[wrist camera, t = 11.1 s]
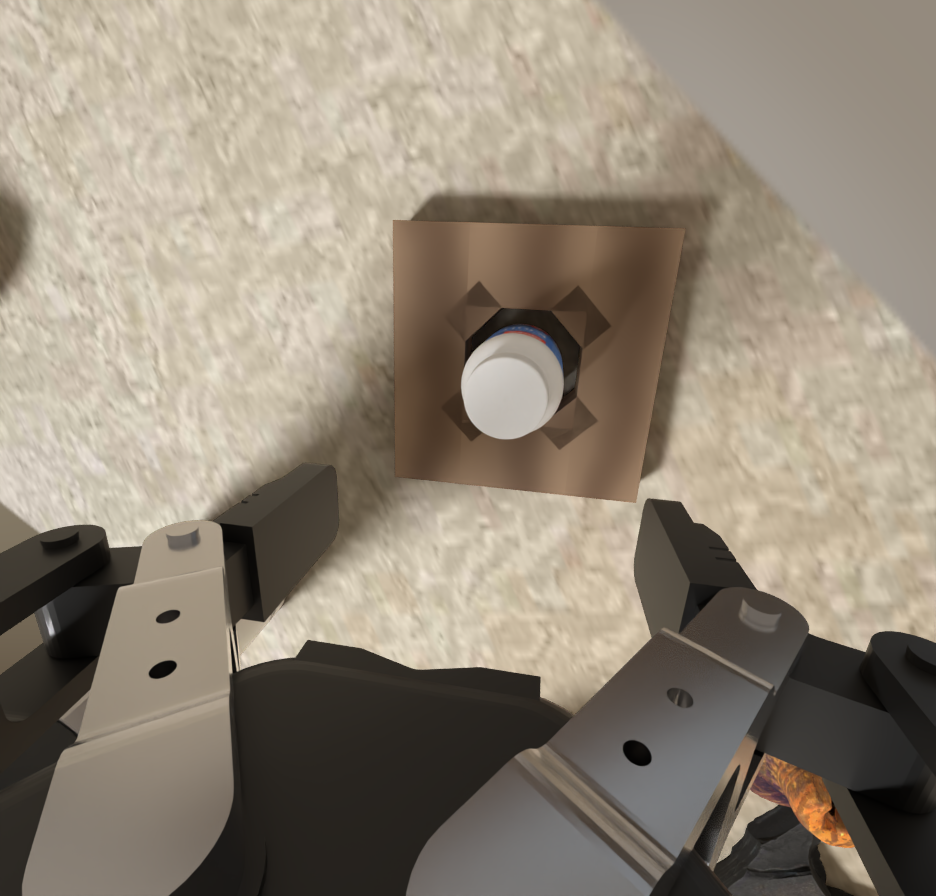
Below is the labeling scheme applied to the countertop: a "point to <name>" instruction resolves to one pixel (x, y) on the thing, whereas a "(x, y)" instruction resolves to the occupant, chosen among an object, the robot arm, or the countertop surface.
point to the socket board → (538, 288)
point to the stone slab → (775, 859)
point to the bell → (802, 799)
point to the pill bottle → (513, 382)
